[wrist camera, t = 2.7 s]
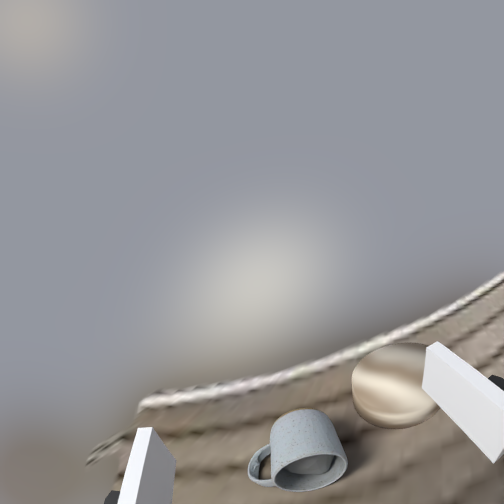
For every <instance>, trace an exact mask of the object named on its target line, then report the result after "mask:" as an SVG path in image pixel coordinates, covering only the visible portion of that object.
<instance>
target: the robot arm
mask: <svg viewBox="0 0 504 504" xmlns="http://www.w3.org/2000/svg"><path fill="white" fill-rule="evenodd" d="M422 389H423V390H424V391H425V392H426V393H427V394H428V395H429V396H430V397H431V398H432V399H433V400H434V401H435V402H436V403H437V404H438V405H439V406H440V407H441V408H442V409H443V410H444V411H445V412H446V413H447V415H448V416H449V417H450V418H451V419H452V420H453V421H454V422H455V423H456V424H457V425H458V426H459V427H460V428H461V429H462V430H463V431H464V432H465V433H466V434H467V436H468V437H469V438H470V439H471V440H472V441H473V442H474V443H475V444H476V445H477V446H478V447H479V448H480V449H481V450H482V452H483V453H484V454H485V455H486V456H487V457H488V458H489V459H490V460H491V461H492V462H493V464H494V463H495V462H496V461H497V460H498V459H499V458H500V457H501V456H502V455H503V454H504V379H503V378H501V377H498V376H494V375H491V376H490V377H489V378H488V379H487V378H486V377H485V376H483V375H482V374H481V373H480V372H478V371H477V370H476V369H474V368H473V367H472V366H470V365H469V364H468V363H466V362H465V361H464V360H462V359H461V358H460V357H458V356H457V355H456V354H454V353H453V352H452V351H450V350H449V349H448V348H446V347H445V346H443V345H442V344H441V343H439V342H438V341H437V342H436V343H434V344H432V345H430V346H428V347H426V357H425V367H424V375H423V382H422ZM175 467H176V459H175V458H174V457H173V456H172V454H171V453H170V451H169V450H168V449H167V447H166V446H165V445H164V443H163V442H162V440H161V439H160V438H159V436H158V435H157V433H156V432H155V430H154V429H153V427H148V428H138V430H137V433H136V437H135V440H134V444H133V447H132V451H131V454H130V458H129V461H128V465H127V468H126V472H125V476H124V480H123V484H122V487H121V491H111V492H110V493H109V495H108V496H107V497H106V499H105V502H104V504H172V495H173V485H174V476H175Z"/></svg>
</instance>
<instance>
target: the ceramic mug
mask: <svg viewBox="0 0 504 504" xmlns="http://www.w3.org/2000/svg"><path fill="white" fill-rule="evenodd" d="M270 453H271V478H272V479H269V480H259V479H258V478H259V477H258V476H259V467H260V463H261V461H262V460H263V459H264V458H265V457H266V456H267V455H269V454H270ZM347 466H348V460H347V457H346V454H345V452H344V450H343V447H342V445H341V442H340V440H339V438H338V436H337V434H336V431H335V428H334V426H333V424H332V422H331V420H330V419H329V418H328V416H327V415H326V414H324V413H323V412H321V411H319V410H317V409H313V408H300V409H295V410H292V411H290V412H287V413H285V414H283V415H282V416H281V417H279V418H278V419H277V420H276V421H275V423H274V424H273V426H272V430H271V434H270V444H268V445H266V446H264V447H262V448H261V449H260V450H258V451H257V452H256V453H255V454H254V456H253V457H252V459H251V460H250V463H249V466H248V476H249V478H250V479H251V480H252V481H254V482H255V483H257V484H259V485H261V486H264V487H271V486H277V487H278V488H280V489H282V490H286V491H292V492H304V491H311V490H315V489H319V488H322V487H325V486H327V485H329V484H331V483H333V482H334V481H336V480H338V479H339V478H340V477H341V476H342V475H343V474H344V473H345V471H346V469H347Z"/></svg>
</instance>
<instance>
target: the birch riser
mask: <svg viewBox="0 0 504 504" xmlns="http://www.w3.org/2000/svg"><path fill="white" fill-rule="evenodd" d="M426 347H428V345H424V344H419V343H398V344H392V345H388V346H385V347H382V348H379V349H377V350H375V351H373V352H371V353H370V354H368V355H367V356H365V357H364V358H363V359H362V360H361V361H360V362H359V363H358V364H357V366H356V367H355V369H354V372H353V375H352V392H353V404H354V407H355V409H356V411H357V413H358V414H359V415H360V416H361V417H362V418H363V419H364V420H365V421H367V422H368V423H370V424H372V425H375V426H378V427H381V428H387V429H403V428H408V427H412V426H415V425H418V424H420V423H422V422H424V421H426V420H428V419H429V418H431V417H432V416H433V415H434V414H435V413H436V412H437V411H438V410H439V409H440V408H441V407H440V406H439V405H438V404H437V403H436V402H435V401H434V400H433V399H432V398H431V397H430V396H429V395H428V394H427V393H426V392H425V391H424V390H423V389H422V382H423V375H424V367H425V357H426Z"/></svg>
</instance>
